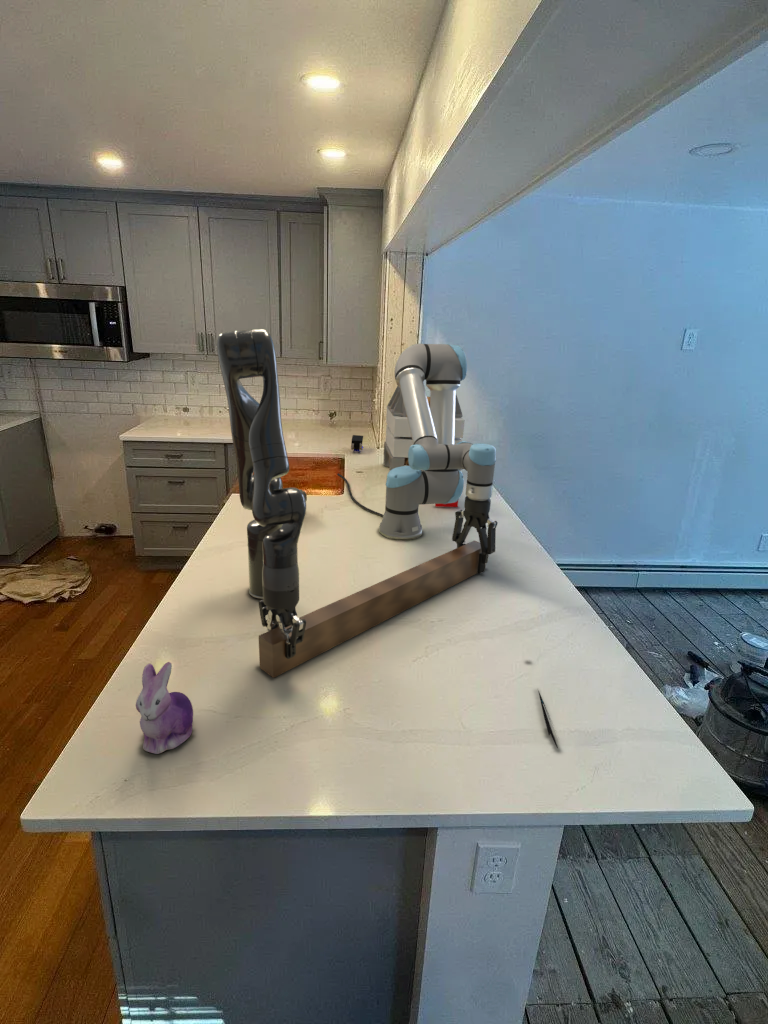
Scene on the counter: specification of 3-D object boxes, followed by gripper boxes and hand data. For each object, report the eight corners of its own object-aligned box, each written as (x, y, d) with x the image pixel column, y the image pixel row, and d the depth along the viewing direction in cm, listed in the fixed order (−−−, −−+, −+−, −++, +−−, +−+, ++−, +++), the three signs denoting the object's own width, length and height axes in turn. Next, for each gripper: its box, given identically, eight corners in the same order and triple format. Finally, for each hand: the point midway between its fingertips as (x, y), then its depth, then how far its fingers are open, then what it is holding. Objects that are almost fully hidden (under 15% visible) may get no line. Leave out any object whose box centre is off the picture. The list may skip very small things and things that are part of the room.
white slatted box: (382, 463, 289) (386, 382, 275) (445, 464, 293) (451, 384, 279) (390, 482, 257) (394, 392, 243) (460, 483, 261) (468, 394, 247)
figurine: (143, 764, 96) (134, 690, 91) (137, 726, 105) (128, 657, 100) (201, 747, 100) (195, 676, 95) (190, 712, 109) (184, 645, 104)
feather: (529, 666, 130) (534, 660, 129) (557, 753, 103) (564, 745, 103) (523, 662, 130) (528, 656, 129) (550, 748, 103) (556, 741, 103)
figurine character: (362, 456, 306) (363, 447, 319) (363, 443, 302) (363, 434, 316) (350, 456, 306) (351, 446, 319) (350, 442, 302) (351, 433, 316)
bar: (471, 564, 179) (474, 540, 176) (485, 569, 175) (487, 545, 173) (259, 667, 123) (258, 635, 121) (273, 678, 120) (272, 645, 117)
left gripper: (245, 575, 120) (248, 644, 125) (287, 599, 111) (288, 673, 116) (274, 565, 125) (276, 632, 131) (317, 587, 116) (317, 658, 122)
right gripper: (443, 491, 170) (437, 561, 178) (500, 508, 157) (491, 582, 165) (458, 486, 175) (452, 554, 183) (514, 503, 162) (505, 575, 170)
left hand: (282, 651), depth 123 cm, fingers closed on bar, 5 cm apart
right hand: (470, 568), depth 174 cm, fingers open, 7 cm apart
